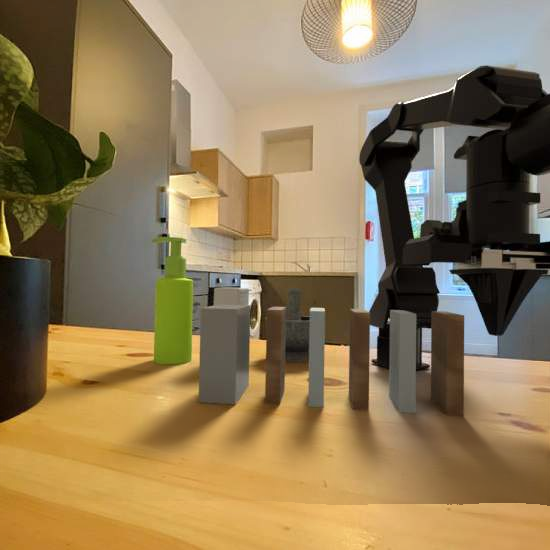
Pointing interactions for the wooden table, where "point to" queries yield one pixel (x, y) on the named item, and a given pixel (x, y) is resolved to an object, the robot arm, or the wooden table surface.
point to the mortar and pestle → (296, 329)
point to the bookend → (224, 353)
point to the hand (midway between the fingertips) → (495, 335)
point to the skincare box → (231, 296)
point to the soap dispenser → (173, 308)
